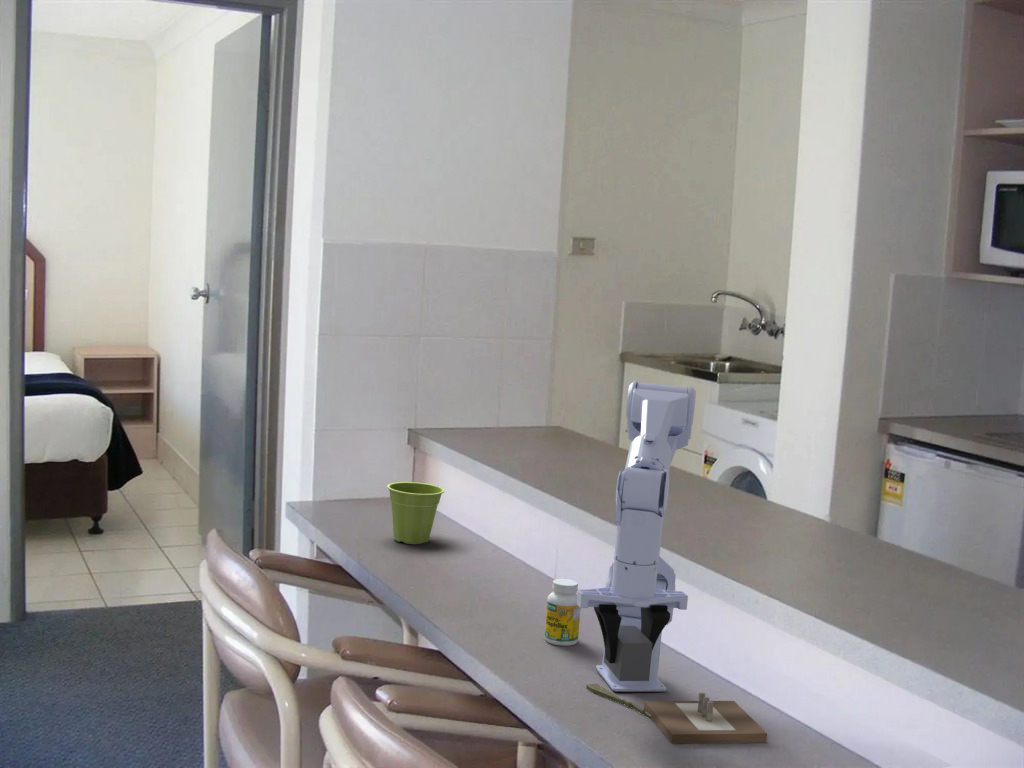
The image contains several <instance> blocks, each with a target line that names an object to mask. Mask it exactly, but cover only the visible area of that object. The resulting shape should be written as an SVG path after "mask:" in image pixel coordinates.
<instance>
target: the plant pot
mask: <svg viewBox="0 0 1024 768" xmlns="http://www.w3.org/2000/svg"><path fill="white" fill-rule="evenodd" d="M386 488H387V489H388V490H389V498H390V501H391V512H392V514H391V515H392V526H393V528H392V529H393V540H395V541H396V542H398V543H400V542H403V543H404V544H407V545H417V544H418V545H423V544H425V543H428V542H429V541H430V538H431V537H430V536H431V533H432V529H433V526H434V521H435V517H436V513H437V509H438V506H439V504H440V500H441V497H442V494H444V493H445V489H444V488H442V487H440V486H439V485H435V484H430V483H425V482H414V481H399V482H397V481H396V482H392V483H389V484H387V486H386ZM422 543H423V544H422Z"/></svg>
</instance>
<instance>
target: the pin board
mask: <svg viewBox="0 0 1024 768" xmlns="http://www.w3.org/2000/svg"><path fill="white" fill-rule="evenodd" d="M643 704H644V705H643V707H644V708H643V710H645V711H647V712H648V713H649V714H650V715H651V718H650V719H651V720H652V721H653V723H654V722H655V723H654V724H655V725H656V727H657V728H658V729H659V730H660V732H662V734H663V735H664V736H665V737H666V738H667V741H669V742H670V744H729V743H730V744H732V743H733V744H734V743H735V744H737V743H738V744H739V743H742V744H743V743H745V744H747V743H751V744H752V743H767V741H768V740H767V739H768V732H767V731H766V730H765V729H763V727H762V726H760V724H758V722H756V721H755V720H754V719H753V718H752V716H750V715H749V714H748V713H747V712H746V711H745V710H744V709H743V708H742V707H741V706H740V705H739V704H738V703H737V702H736V701H735V700H710V697H708V696H706V693H705V692H699V693H698V700H644V703H643Z"/></svg>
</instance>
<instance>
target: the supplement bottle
mask: <svg viewBox="0 0 1024 768" xmlns="http://www.w3.org/2000/svg"><path fill="white" fill-rule="evenodd" d="M578 588H579V582H577V581H575V580H573V579H570V578H568V579H566V578H557V579H554V580H553V581H552V586H551V589H552V592H551V593H550V594H549V595H547V600H546V613H545V623H544V639H545V641H546V642H547V643H549V644H550V645H553V646H554V645H555V646H562V647H564V646H565V647H567V646H569V647H570V646H574V645H576V644H578V641H579V633H580V617H581V610H582V608H580V607H579V606H578V605H577V593H578V590H579V589H578Z"/></svg>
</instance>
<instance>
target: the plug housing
mask: <svg viewBox="0 0 1024 768" xmlns="http://www.w3.org/2000/svg"><path fill="white" fill-rule="evenodd" d="M652 644H653V643H652V642H651V641H650V640H649V639H648V638H647V637H646V636H645V635H644V634H643V633H642V632H641V631H640V630H639V629H638V628H637V627H636V626H620V627H619V632H618V637H617V649H616V659H615V663H609V662H608V661H607V659H606V658H605V654H604V663H605V664H606V665H607V666H608V668H609V669H610V670H611V671H612V673H613V674H614V675H615V676H616V677H617V679H618V680H619V681H649V676H650V665H651V655H652Z"/></svg>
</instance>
